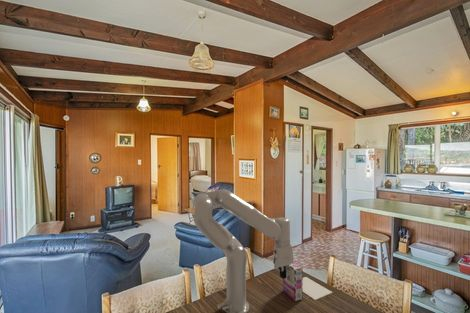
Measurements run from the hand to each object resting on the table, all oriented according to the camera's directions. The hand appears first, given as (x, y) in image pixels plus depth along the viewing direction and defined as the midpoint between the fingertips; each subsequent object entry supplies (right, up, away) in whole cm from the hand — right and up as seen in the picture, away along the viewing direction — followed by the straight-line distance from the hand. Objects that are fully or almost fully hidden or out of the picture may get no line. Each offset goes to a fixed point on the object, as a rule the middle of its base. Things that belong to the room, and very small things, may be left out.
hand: (283, 277), depth 129 cm
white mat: (+17, -11, +10) cm, 23 cm away
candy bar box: (+6, -11, +4) cm, 13 cm away
